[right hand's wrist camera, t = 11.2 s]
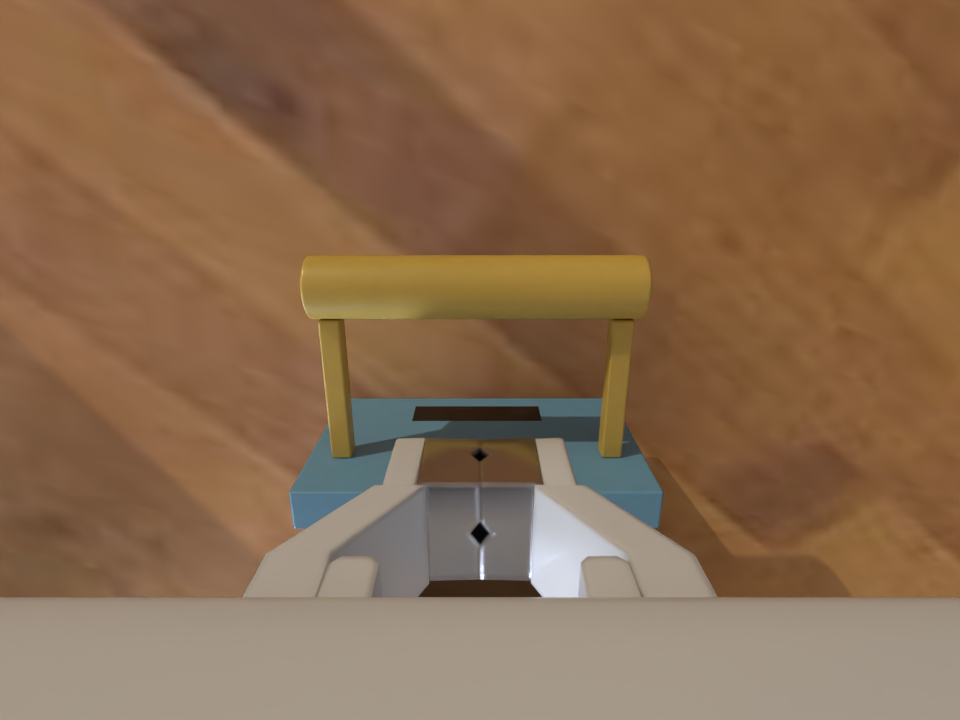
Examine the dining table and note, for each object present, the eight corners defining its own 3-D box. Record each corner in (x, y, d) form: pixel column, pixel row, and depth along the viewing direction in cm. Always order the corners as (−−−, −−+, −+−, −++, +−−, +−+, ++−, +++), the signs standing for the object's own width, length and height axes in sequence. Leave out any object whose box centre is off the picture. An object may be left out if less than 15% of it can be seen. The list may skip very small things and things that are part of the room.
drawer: (326, 235, 18) (256, 270, 13) (626, 234, 18) (694, 270, 13) (374, 746, 27) (346, 908, 21) (580, 746, 27) (608, 908, 21)
